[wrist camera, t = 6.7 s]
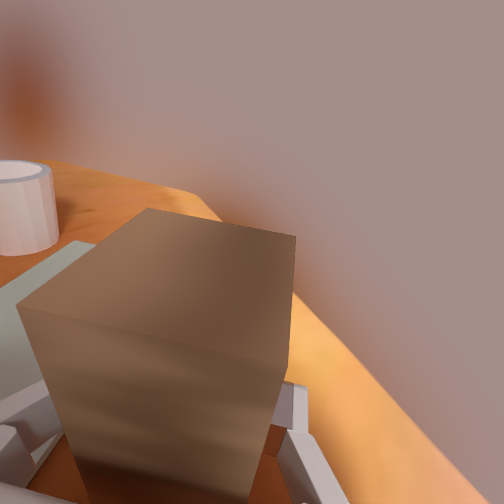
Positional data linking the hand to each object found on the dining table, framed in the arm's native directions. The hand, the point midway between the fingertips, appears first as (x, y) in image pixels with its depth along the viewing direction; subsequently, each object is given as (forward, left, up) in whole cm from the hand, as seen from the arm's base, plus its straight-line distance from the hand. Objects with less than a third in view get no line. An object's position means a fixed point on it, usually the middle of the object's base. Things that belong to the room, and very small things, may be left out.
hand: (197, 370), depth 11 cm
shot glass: (-22, +14, -7) cm, 27 cm away
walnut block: (0, -1, -7) cm, 7 cm away
